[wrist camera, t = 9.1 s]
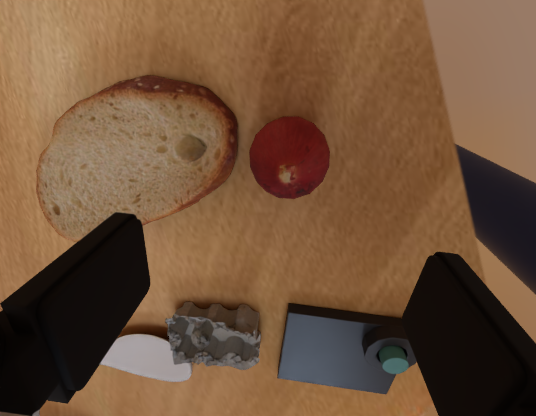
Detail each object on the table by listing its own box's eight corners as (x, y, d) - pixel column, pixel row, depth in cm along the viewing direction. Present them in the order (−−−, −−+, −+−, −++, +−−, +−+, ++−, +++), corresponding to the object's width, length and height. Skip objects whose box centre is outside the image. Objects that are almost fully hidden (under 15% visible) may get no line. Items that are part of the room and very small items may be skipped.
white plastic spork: (-37, 303, 38) (-66, 324, 35) (194, 328, 35) (184, 353, 32) (-9, 347, 42) (-33, 369, 39) (199, 372, 40) (191, 398, 36)
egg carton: (262, 303, 32) (258, 333, 29) (262, 346, 36) (258, 378, 32) (173, 297, 33) (158, 325, 30) (181, 339, 37) (168, 369, 33)
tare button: (407, 346, 29) (412, 360, 28) (399, 361, 31) (404, 375, 29) (382, 342, 30) (386, 356, 28) (375, 358, 31) (379, 372, 29)
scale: (416, 318, 31) (427, 342, 28) (385, 383, 37) (392, 408, 34) (289, 301, 32) (288, 322, 29) (278, 368, 37) (276, 391, 35)
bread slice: (53, 225, 30) (23, 245, 27) (28, 36, 22) (-21, 31, 18) (214, 268, 31) (204, 292, 27) (250, 98, 22) (241, 104, 19)
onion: (333, 164, 24) (348, 205, 17) (272, 186, 26) (262, 232, 18) (311, 98, 22) (318, 113, 15) (245, 126, 23) (223, 152, 16)
